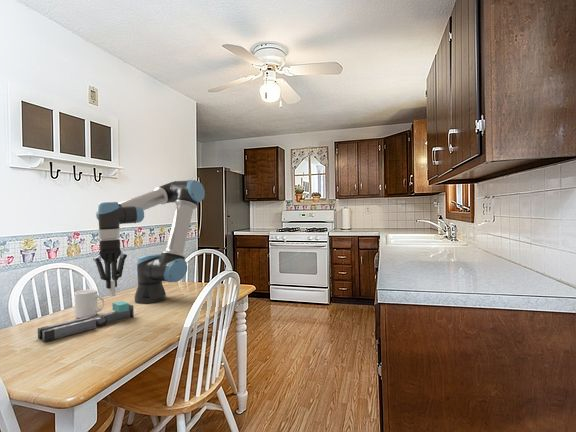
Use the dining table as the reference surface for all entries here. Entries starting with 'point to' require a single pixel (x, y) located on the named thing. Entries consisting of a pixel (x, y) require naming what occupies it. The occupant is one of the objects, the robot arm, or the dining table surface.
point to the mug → (87, 303)
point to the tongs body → (100, 320)
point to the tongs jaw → (68, 329)
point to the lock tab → (120, 306)
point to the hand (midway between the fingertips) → (112, 295)
